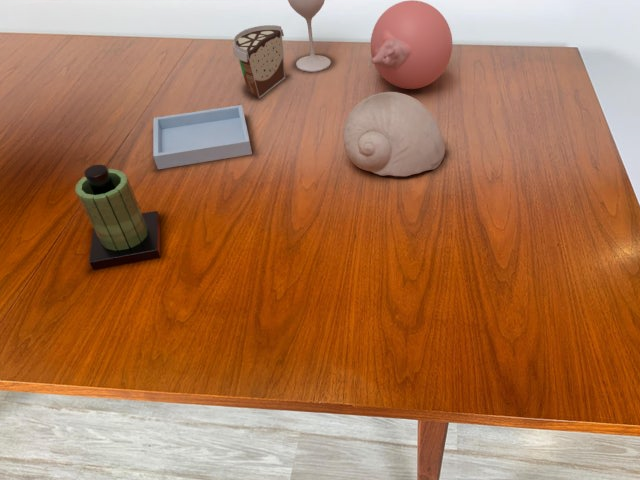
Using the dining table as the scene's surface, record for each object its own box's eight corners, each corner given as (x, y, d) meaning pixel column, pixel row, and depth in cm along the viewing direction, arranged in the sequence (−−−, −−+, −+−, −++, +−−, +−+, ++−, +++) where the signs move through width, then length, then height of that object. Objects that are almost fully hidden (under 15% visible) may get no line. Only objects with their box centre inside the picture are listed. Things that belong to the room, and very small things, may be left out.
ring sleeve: (99, 254, 80) (73, 202, 73) (102, 225, 84) (77, 173, 78) (147, 245, 81) (125, 193, 74) (148, 217, 85) (127, 165, 79)
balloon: (340, 98, 112) (334, 15, 101) (402, 59, 122) (402, -19, 111) (405, 122, 105) (405, 37, 94) (464, 80, 116) (471, -1, 105)
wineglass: (304, 53, 125) (291, -55, 110) (337, 58, 123) (328, -52, 108) (289, 69, 120) (273, -43, 105) (322, 74, 118) (312, -39, 103)
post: (93, 270, 80) (54, 197, 71) (97, 229, 86) (62, 157, 77) (160, 257, 81) (130, 184, 72) (160, 218, 87) (132, 146, 78)
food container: (264, 69, 121) (255, 19, 113) (289, 74, 119) (282, 25, 111) (228, 95, 113) (217, 44, 106) (254, 102, 111) (244, 51, 104)
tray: (157, 169, 96) (153, 156, 94) (157, 130, 105) (153, 117, 103) (252, 154, 99) (249, 141, 97) (244, 117, 107) (241, 104, 105)
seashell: (356, 182, 104) (322, 150, 90) (383, 111, 105) (353, 67, 91) (434, 204, 99) (410, 172, 85) (461, 128, 100) (442, 85, 86)
